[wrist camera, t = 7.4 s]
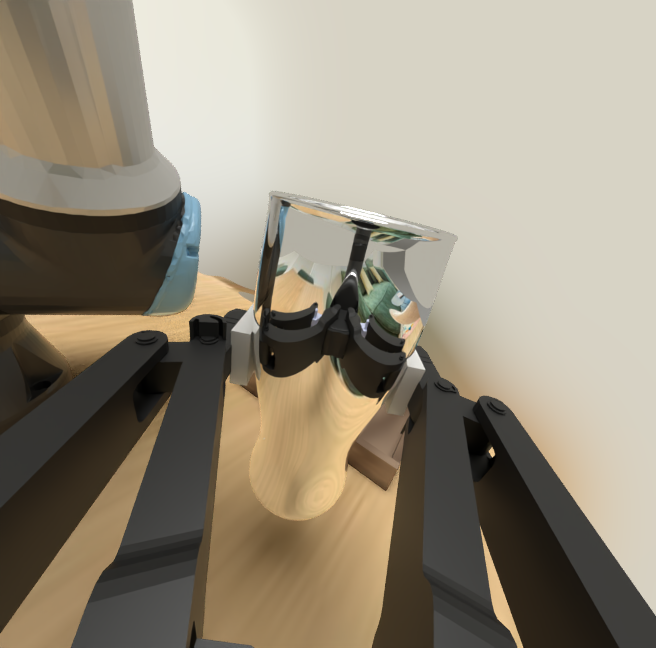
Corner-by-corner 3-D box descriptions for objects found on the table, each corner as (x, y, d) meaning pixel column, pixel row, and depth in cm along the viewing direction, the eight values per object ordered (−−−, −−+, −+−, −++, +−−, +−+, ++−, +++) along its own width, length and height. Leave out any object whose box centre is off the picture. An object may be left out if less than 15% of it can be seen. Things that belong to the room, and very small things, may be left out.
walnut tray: (238, 383, 34) (239, 362, 32) (307, 342, 46) (310, 326, 45) (386, 490, 25) (397, 469, 23) (421, 403, 38) (430, 386, 36)
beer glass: (310, 407, 20) (359, 207, 13) (373, 482, 16) (496, 243, 9) (222, 448, 16) (227, 179, 9) (277, 569, 11) (374, 223, 4)
